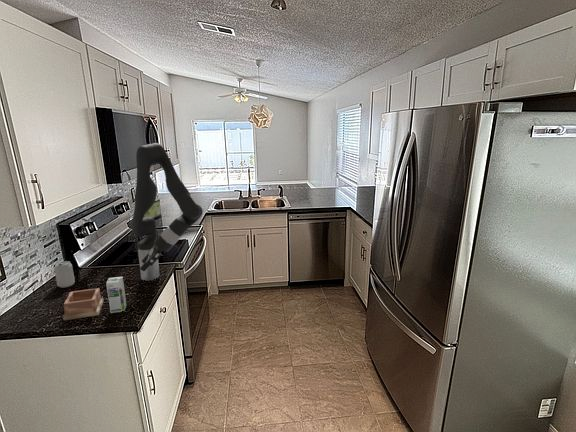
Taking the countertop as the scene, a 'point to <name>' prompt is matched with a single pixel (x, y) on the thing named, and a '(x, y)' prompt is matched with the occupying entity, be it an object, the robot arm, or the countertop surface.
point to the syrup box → (116, 294)
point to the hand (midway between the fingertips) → (142, 266)
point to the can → (64, 274)
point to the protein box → (154, 210)
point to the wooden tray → (83, 304)
